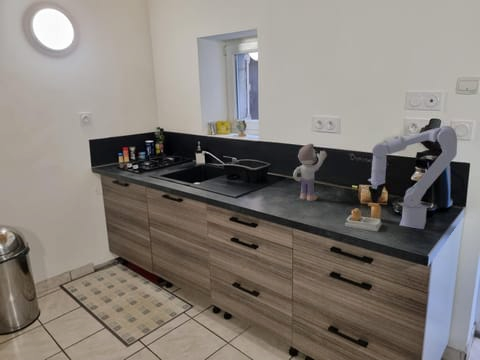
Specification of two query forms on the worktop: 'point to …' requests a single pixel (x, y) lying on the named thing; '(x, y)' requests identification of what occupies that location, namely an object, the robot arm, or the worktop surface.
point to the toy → (308, 170)
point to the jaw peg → (375, 210)
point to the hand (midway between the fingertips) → (376, 199)
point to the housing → (362, 221)
